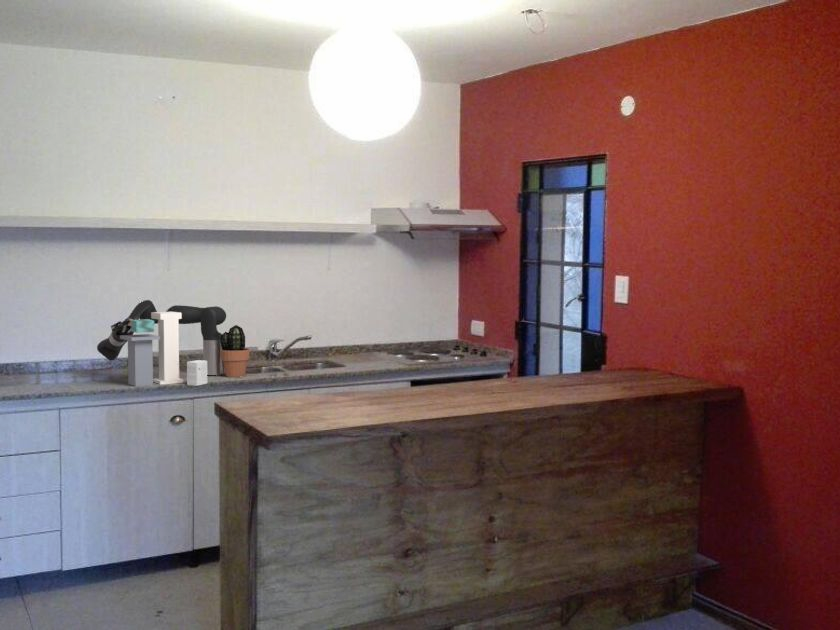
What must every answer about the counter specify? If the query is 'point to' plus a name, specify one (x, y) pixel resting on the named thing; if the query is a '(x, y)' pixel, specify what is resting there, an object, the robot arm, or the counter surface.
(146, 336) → the pedestal
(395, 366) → the counter surface
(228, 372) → the potted plant
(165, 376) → the tall stand
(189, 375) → the small box
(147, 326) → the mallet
